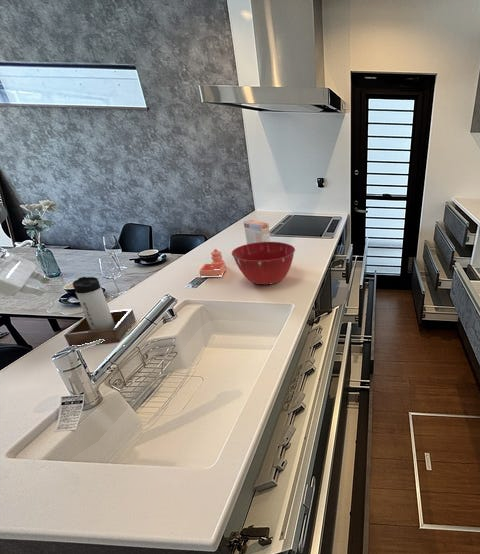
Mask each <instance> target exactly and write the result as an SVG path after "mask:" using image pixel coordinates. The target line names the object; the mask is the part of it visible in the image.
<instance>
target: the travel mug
mask: <svg viewBox="0 0 480 554" xmlns="http://www.w3.org/2000/svg"><path fill="white" fill-rule="evenodd" d="M72 287H73V289H74V291H75V295H76V297H77V299H78V302H79V305H80V307H81V309H82V311H83V313H84V316H86V319H87V321H88V324H89V326H90V329H91V331H95V330H105V329H113V328H114V327H115V324H114V321H113V318H112V315H111V313H110V311H111V310H110V308H109V305H108V302H107V299H106V296H105V294H104V291H103V288H102V286H101V284H100V281H99V278H97V277H95V276H82V277H78V278H77V279H76V280H74V281H73V282H72Z"/></svg>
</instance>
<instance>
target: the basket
mask: <svg viewBox="0 0 480 554" xmlns="http://www.w3.org/2000/svg"><path fill="white" fill-rule="evenodd" d="M110 313H111V315H112V318H113V321H114V324H115V327H114V328H113V329H105V330H95V331H91V329H90V326H89V324H88V321H87V319H86V316H85V315H84V316H83V317H82V318H81V319H79V321H78V322H77V323H76V324H74V325H73V326H72V327H71V328H70V329H69V330H67V332H65V334H64V339H65V340H66V342H67V344H68V347H69V348H70V346H72V345H82V344H85V343H90V342H93V341H96V340H99V339H104V340H105V341H103V342H102V343H100V344H99V345H106V344H115V343H120V342H121V341H122V339H124V337H125V336H126V334H127V333H128V332H129V330H130V329H131V328H132V326H133V325H134V324H135V323H136V321H137V319H136V317H135V314H134V311H133V308H129V309H120V310H110ZM135 320H136V321H135ZM134 322H135V323H134ZM133 323H134V324H133ZM132 324H133V325H132ZM131 325H132V326H131ZM130 327H131V328H130ZM129 328H130V329H129ZM128 329H129V330H128ZM126 332H127V333H126Z"/></svg>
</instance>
